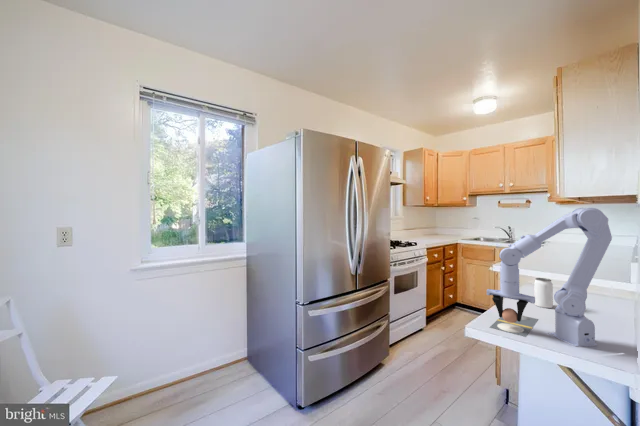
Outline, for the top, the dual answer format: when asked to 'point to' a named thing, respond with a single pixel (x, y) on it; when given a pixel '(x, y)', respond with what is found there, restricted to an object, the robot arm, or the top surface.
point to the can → (543, 293)
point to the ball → (509, 315)
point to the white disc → (510, 328)
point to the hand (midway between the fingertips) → (510, 318)
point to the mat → (518, 324)
